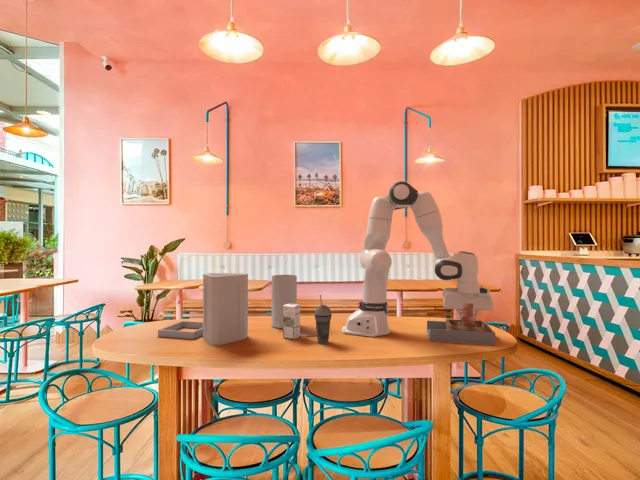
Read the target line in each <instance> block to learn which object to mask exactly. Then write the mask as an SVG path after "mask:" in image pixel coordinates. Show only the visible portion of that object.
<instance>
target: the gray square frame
mask: <svg viewBox="0 0 640 480" xmlns="http://www.w3.org/2000/svg"><path fill="white" fill-rule="evenodd" d="M182 328H185V329H186V328H188V329H196V330H194V331H186V330H180V329H182ZM157 337H159V338H170V339H172V338H173V339H183V340H184V339H186V340H195V339H197V338H199V337H203V321H192V320H191V321H189V320H181V321H179V322H176V323H173V324H170V325H168V326H165V327H162V328H159V329H158V330H157Z"/></svg>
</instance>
